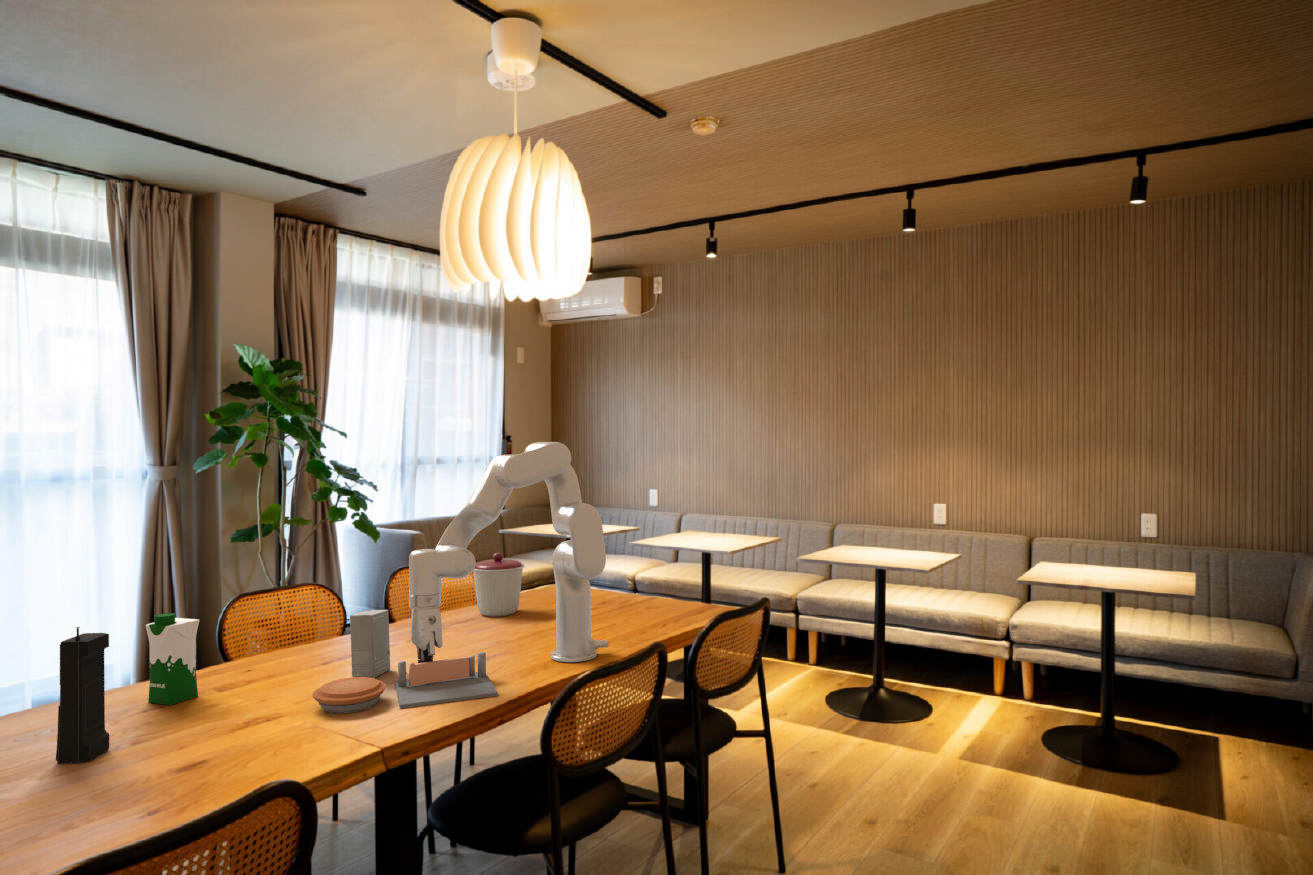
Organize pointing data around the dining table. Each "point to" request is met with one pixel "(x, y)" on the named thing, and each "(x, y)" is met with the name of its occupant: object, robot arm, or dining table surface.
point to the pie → (349, 694)
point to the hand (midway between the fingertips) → (425, 675)
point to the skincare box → (370, 643)
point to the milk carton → (172, 659)
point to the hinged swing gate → (444, 688)
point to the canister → (498, 585)
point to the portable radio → (82, 699)
